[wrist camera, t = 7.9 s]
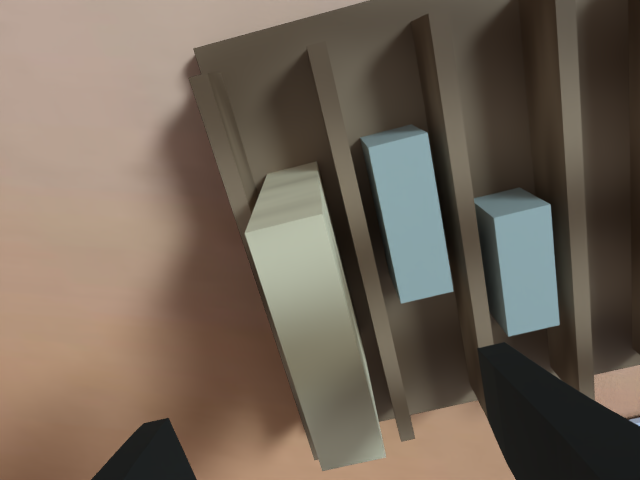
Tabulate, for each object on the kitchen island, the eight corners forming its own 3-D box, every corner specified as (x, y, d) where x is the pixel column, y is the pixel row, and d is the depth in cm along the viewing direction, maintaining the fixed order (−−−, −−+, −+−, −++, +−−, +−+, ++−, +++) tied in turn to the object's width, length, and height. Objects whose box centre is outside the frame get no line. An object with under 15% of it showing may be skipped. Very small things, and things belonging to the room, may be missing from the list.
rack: (633, 350, 22) (689, 398, 19) (316, 420, 23) (317, 477, 20) (628, -68, 16) (709, -103, 13) (199, 49, 17) (174, 44, 14)
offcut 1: (435, 264, 20) (453, 291, 17) (389, 275, 20) (401, 303, 17) (411, 124, 17) (427, 132, 15) (359, 137, 18) (368, 147, 15)
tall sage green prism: (360, 334, 21) (386, 457, 14) (317, 344, 21) (322, 470, 14) (316, 161, 18) (322, 213, 11) (267, 173, 18) (244, 233, 11)
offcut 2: (530, 295, 20) (559, 324, 18) (484, 305, 20) (508, 336, 18) (519, 187, 18) (550, 204, 16) (470, 199, 19) (493, 218, 16)
